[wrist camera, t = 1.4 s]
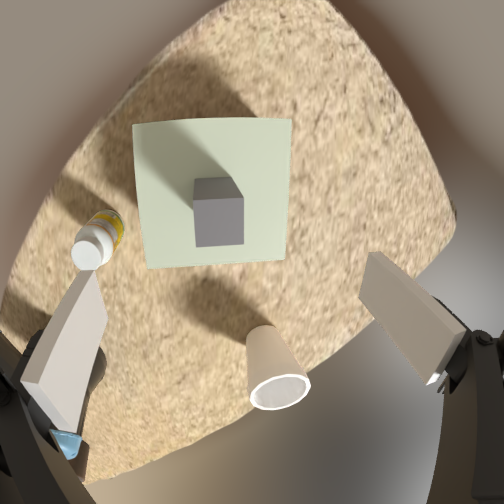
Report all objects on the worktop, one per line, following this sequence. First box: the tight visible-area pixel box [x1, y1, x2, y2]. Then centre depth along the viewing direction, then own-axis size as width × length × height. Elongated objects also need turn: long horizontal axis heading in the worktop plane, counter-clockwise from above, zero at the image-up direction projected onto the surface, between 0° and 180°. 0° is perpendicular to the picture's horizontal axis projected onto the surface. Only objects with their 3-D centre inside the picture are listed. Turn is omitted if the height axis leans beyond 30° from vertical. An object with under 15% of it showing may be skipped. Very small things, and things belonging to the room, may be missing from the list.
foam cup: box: [246, 325, 311, 410], centre depth 44 cm, size 10×9×13 cm
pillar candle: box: [68, 441, 89, 482], centre depth 54 cm, size 10×10×15 cm
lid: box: [132, 117, 292, 269], centre depth 24 cm, size 15×15×10 cm
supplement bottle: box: [71, 210, 125, 270], centre depth 32 cm, size 5×5×10 cm
